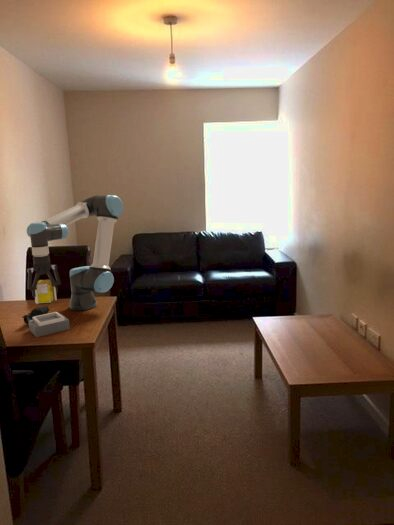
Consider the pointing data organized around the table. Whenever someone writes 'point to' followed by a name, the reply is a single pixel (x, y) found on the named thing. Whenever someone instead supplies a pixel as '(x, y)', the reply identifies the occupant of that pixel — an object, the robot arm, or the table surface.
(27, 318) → the night vision scope
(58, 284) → the robot arm
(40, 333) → the grey tray
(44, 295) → the supplement box
